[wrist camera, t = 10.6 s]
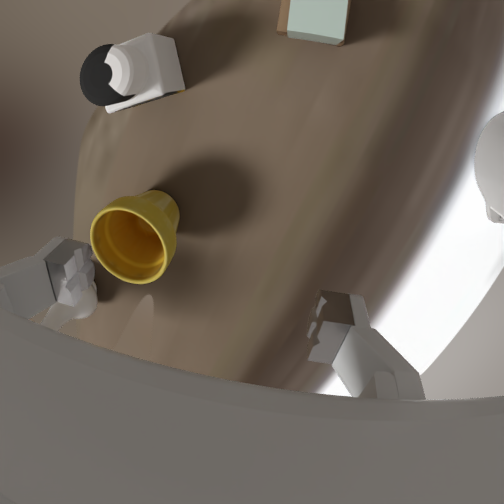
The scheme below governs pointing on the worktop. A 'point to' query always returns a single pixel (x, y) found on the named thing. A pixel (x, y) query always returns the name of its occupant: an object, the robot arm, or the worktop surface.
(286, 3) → the block
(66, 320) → the flower vase
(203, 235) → the worktop surface
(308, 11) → the cube
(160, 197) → the plant pot
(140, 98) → the medicine bottle
